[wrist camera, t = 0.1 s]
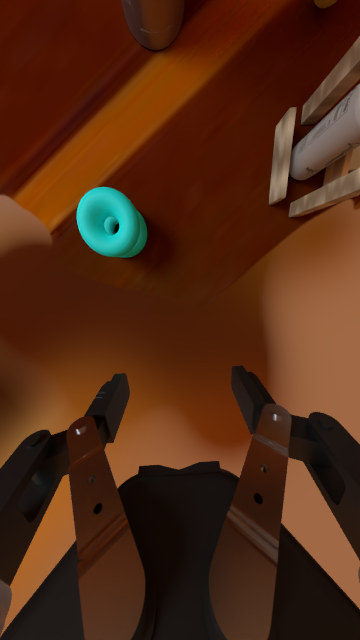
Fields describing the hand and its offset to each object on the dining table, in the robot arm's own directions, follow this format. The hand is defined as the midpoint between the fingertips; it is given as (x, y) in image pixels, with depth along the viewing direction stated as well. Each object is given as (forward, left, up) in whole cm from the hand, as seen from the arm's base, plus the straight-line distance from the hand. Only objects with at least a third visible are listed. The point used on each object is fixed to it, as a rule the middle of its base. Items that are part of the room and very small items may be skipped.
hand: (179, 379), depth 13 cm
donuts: (-15, -10, -30) cm, 35 cm away
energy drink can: (-24, +26, -30) cm, 46 cm away
